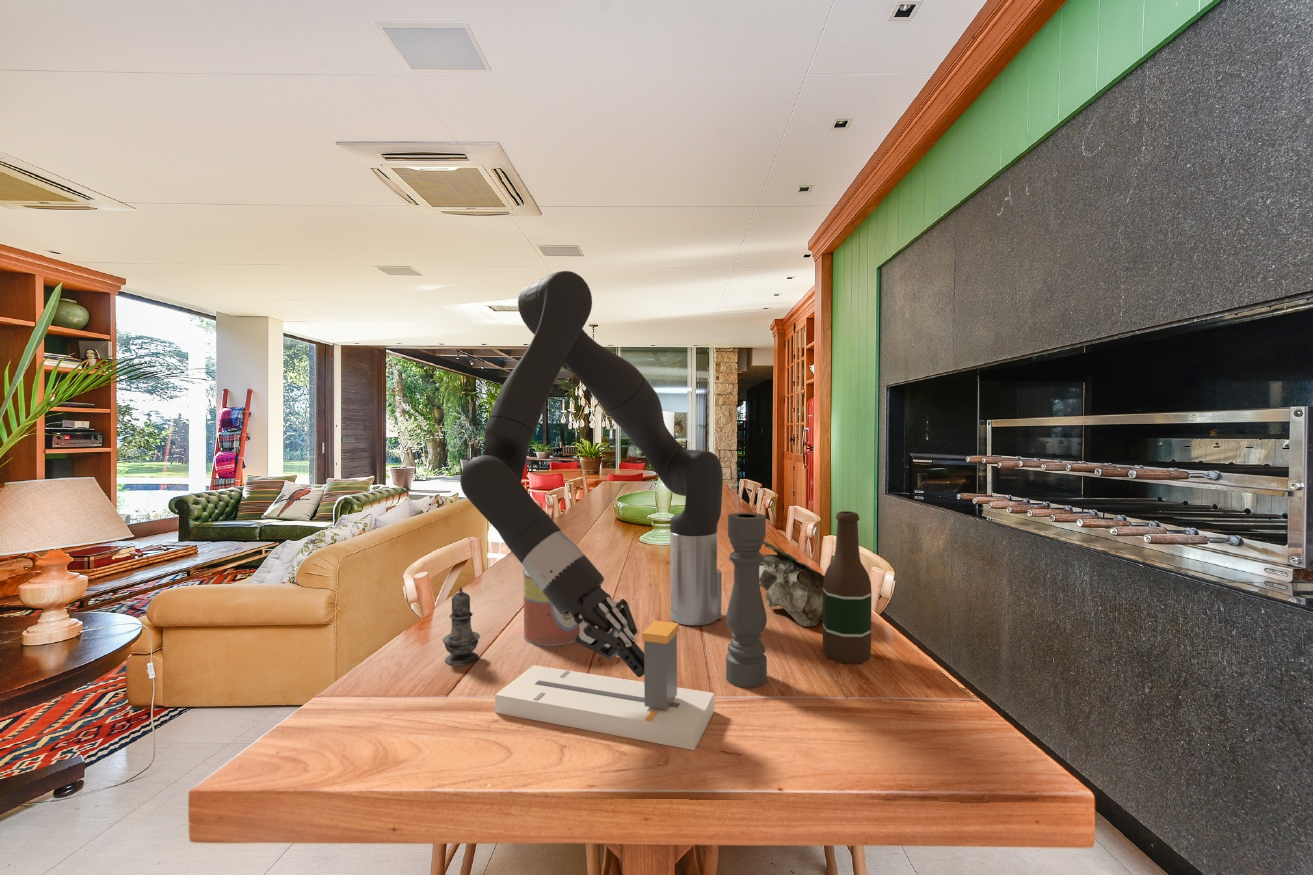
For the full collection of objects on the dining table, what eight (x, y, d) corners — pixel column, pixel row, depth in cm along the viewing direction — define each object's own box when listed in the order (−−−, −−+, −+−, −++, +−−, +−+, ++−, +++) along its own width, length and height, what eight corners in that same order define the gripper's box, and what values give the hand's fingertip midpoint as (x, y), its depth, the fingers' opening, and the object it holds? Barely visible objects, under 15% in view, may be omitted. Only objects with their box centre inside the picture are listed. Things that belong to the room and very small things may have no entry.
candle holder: (769, 672, 93) (770, 513, 92) (763, 690, 87) (764, 520, 86) (730, 667, 95) (730, 511, 94) (721, 684, 89) (722, 518, 88)
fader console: (495, 712, 81) (495, 693, 81) (533, 681, 91) (533, 664, 91) (694, 750, 72) (694, 729, 72) (714, 710, 81) (714, 692, 81)
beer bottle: (873, 650, 102) (874, 510, 101) (868, 668, 95) (870, 517, 94) (826, 643, 105) (827, 507, 104) (818, 659, 98) (819, 514, 97)
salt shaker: (469, 667, 96) (467, 593, 95) (435, 664, 97) (434, 591, 96) (486, 653, 101) (485, 583, 101) (455, 650, 103) (453, 581, 102)
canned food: (544, 651, 102) (543, 581, 102) (512, 633, 111) (511, 568, 110) (597, 635, 110) (597, 570, 109) (564, 619, 118) (563, 558, 118)
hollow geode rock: (768, 607, 139) (724, 563, 137) (805, 568, 140) (762, 523, 139) (816, 652, 111) (761, 596, 110) (863, 602, 112) (809, 546, 111)
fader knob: (642, 706, 77) (642, 632, 76) (654, 690, 81) (654, 620, 81) (667, 710, 76) (667, 636, 75) (678, 693, 80) (678, 623, 80)
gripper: (556, 566, 75) (648, 675, 72) (600, 544, 88) (680, 636, 84) (520, 603, 77) (607, 711, 74) (568, 576, 90) (645, 668, 86)
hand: (646, 671), depth 79 cm, fingers closed
